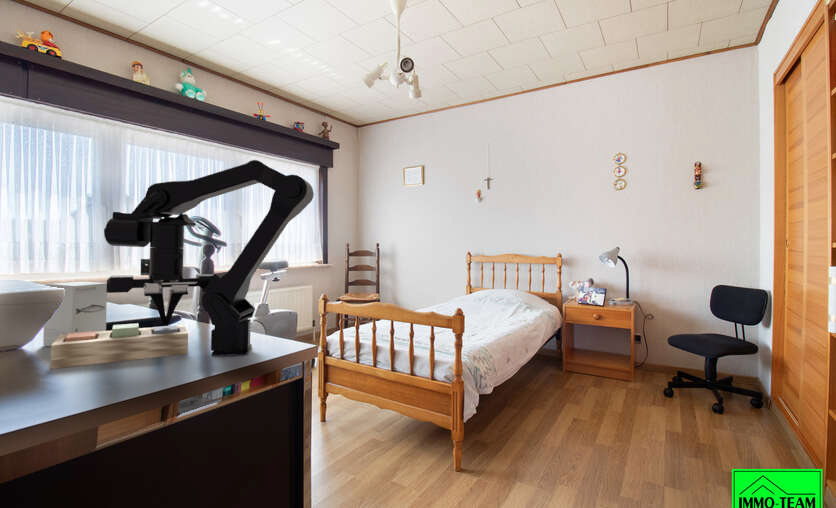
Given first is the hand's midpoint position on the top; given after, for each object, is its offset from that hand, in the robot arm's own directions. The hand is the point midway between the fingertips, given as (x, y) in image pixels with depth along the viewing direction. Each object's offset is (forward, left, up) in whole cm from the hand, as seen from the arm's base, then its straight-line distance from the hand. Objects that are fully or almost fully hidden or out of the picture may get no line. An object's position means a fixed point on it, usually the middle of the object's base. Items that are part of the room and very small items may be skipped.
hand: (165, 325), depth 80 cm
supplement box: (+19, -8, -5) cm, 21 cm away
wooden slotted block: (+6, +2, -5) cm, 8 cm away
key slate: (0, 0, -3) cm, 3 cm away
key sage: (+6, +2, -2) cm, 7 cm away
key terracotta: (+12, +4, -3) cm, 13 cm away
